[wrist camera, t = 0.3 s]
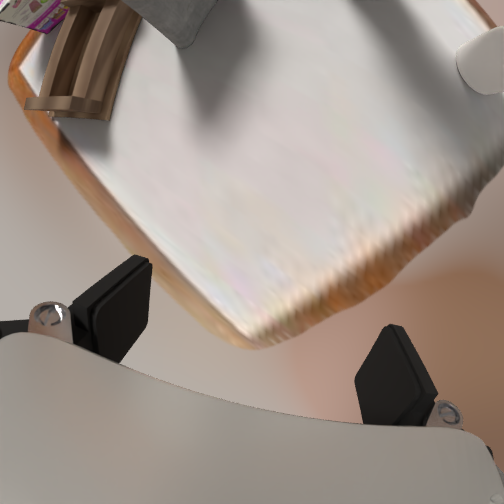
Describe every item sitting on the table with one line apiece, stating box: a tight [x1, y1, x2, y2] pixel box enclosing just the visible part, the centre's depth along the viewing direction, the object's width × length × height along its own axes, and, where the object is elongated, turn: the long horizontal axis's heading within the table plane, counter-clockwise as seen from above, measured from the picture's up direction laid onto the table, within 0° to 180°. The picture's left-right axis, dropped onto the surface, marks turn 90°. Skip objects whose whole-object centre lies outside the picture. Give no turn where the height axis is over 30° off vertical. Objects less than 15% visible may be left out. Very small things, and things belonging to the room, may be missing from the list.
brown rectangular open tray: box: [24, 0, 142, 120], centre depth 30 cm, size 15×24×9 cm, turn 165°
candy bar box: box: [0, 0, 70, 34], centre depth 23 cm, size 11×5×16 cm, turn 113°
